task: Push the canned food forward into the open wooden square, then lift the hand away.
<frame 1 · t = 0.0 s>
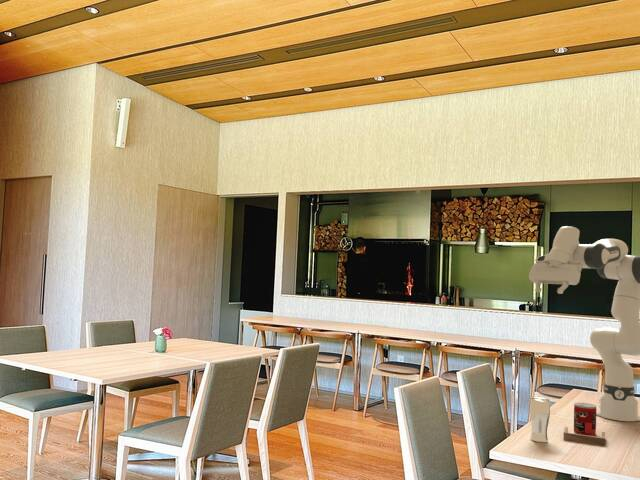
hand: (548, 292, 232), 54 cm above the table, tool tilted 30°, fingers open, 8 cm apart
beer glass: (539, 440, 220), on the table
open wooden square: (584, 439, 225), on the table
canned food: (584, 433, 234), on the table
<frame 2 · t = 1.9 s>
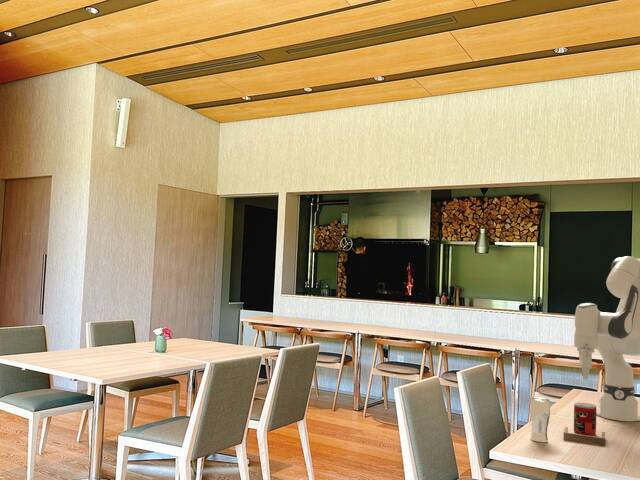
hand: (585, 377, 242), 20 cm above the table, tool pointing down, fingers open, 8 cm apart
nothing on the table moved.
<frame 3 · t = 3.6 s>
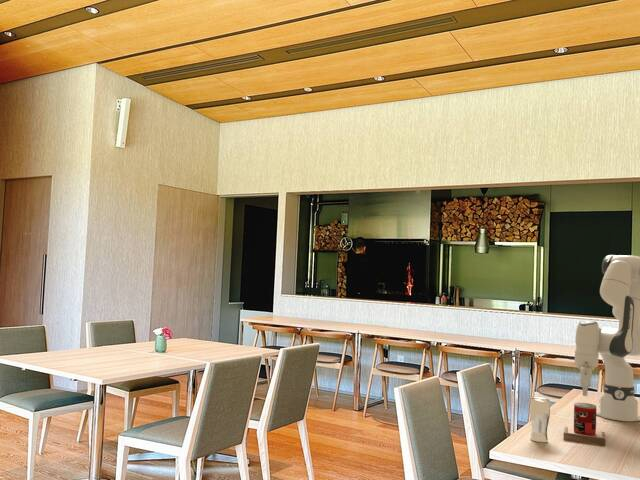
hand: (584, 395, 242), 13 cm above the table, tool pointing down, fingers closed
nothing on the table moved.
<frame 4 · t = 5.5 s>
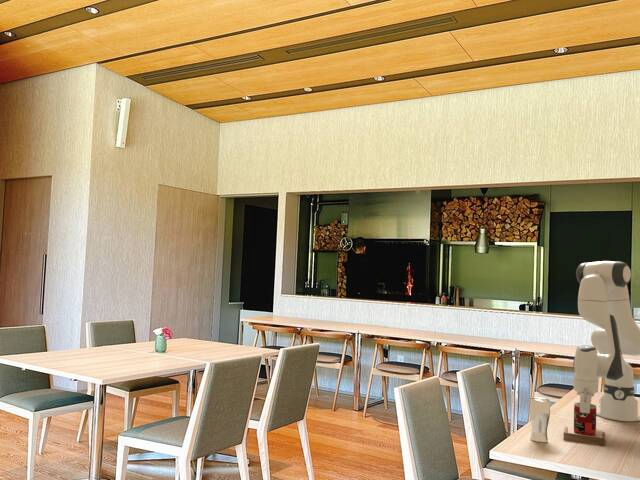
hand: (584, 421, 239), 3 cm above the table, tool pointing down, fingers closed
canned food: (584, 433, 234), on the table, touching gripper
everything else where it was.
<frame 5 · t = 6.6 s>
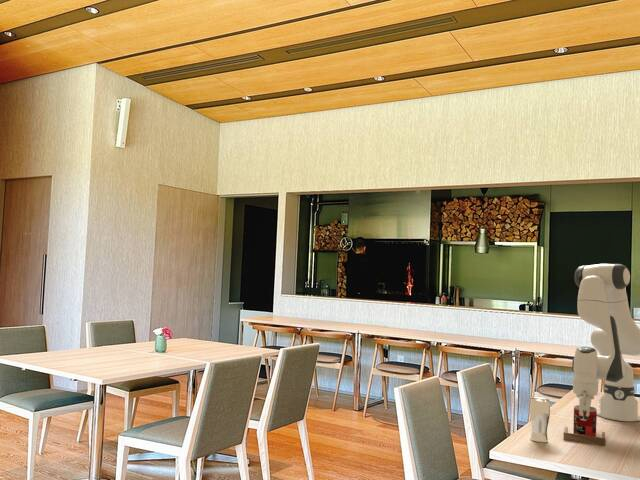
hand: (584, 424, 234), 3 cm above the table, tool pointing down, fingers closed
canned food: (584, 437, 228), on the table, touching gripper
everything else where it was.
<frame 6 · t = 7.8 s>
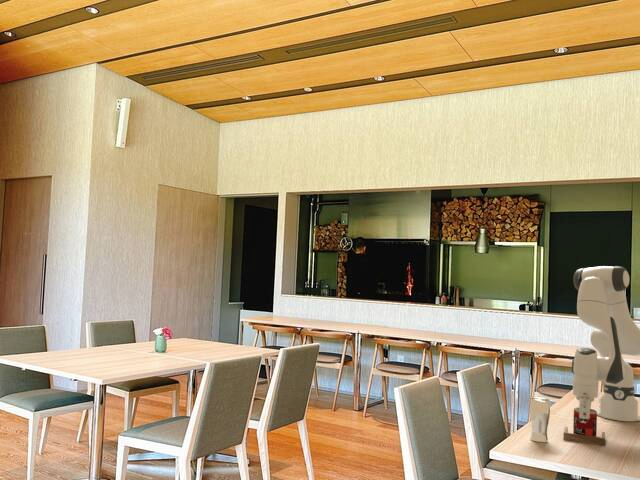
hand: (584, 427, 230), 3 cm above the table, tool pointing down, fingers closed
canned food: (584, 440, 224), on the table, touching gripper
everything else where it was.
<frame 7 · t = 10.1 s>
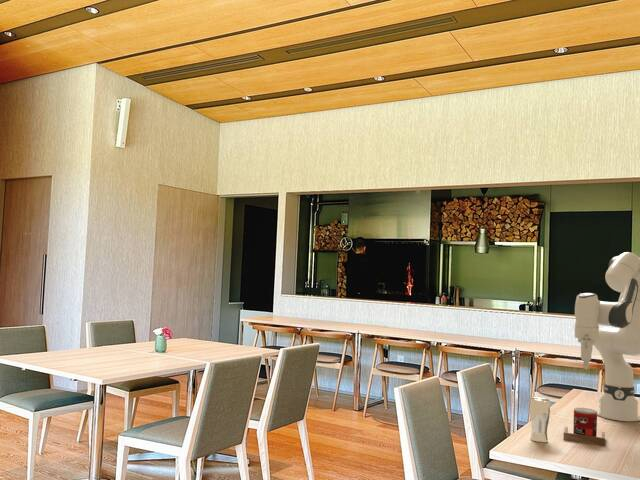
hand: (586, 368, 238), 25 cm above the table, tool pointing down, fingers closed
canned food: (584, 440, 224), on the table
everything else where it was.
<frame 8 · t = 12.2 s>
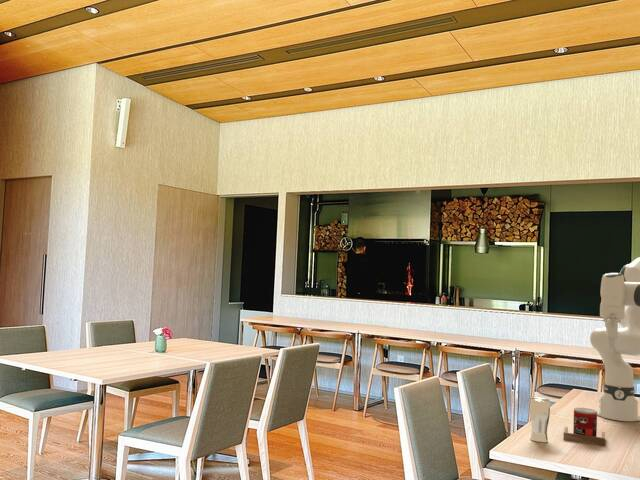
hand: (611, 348, 237), 33 cm above the table, tool pointing down, fingers closed
nothing on the table moved.
at the end: canned food inside the target area (0.6 cm from its centre), on the table; canned food tilted 0°; canned food touching table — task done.
